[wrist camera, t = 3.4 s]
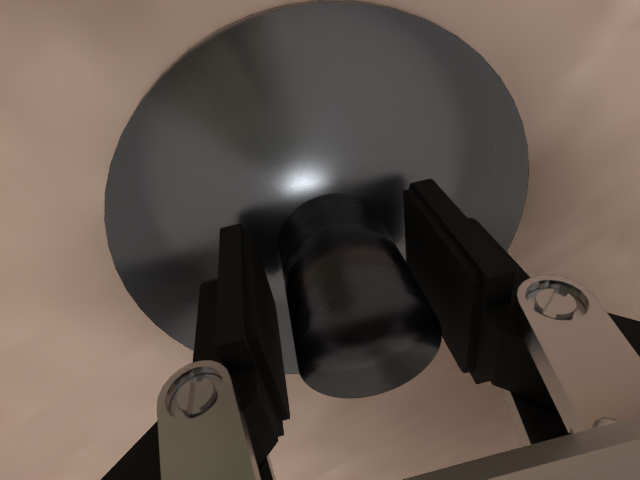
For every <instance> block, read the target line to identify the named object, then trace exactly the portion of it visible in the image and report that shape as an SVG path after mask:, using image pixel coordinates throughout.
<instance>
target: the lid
mask: <svg viewBox="0 0 640 480" xmlns="http://www.w3.org/2000/svg"><path fill="white" fill-rule="evenodd" d="M528 176H529V162H528V146H527V141H526V137H525V132H524V127H523V123H522V120H521V118H520V115H519V113H518V110H517V107H516V105H515V102H514V100H513V98H512V96H511V95H510V93H509V91H508V90H507V88H506V86H505V85H504V83H503V81H502V80H501V78H500V76H499V75H498V74H497V73H496V72H495V71H494V70H493V68H492V67H491V66H490V65H489V64H488V63H487V62H486V60H485V59H484V58H483V57H482V56H481V55H480V54H479V53H478V52H476V51H475V50H474V49H473V48H471V47H470V46H469V45H468V44H466V43H465V42H464V41H463V40H461V39H460V38H459V37H458V36H456V35H454V34H452V33H451V32H449V31H447V30H445V29H443V28H442V27H440V26H438V25H436V24H434V23H433V22H431V21H428V20H425V19H423V18H420V17H417V16H414V15H411V14H408V13H406V12H403V11H400V10H397V9H394V8H391V7H387V6H382V5H376V4H371V3H365V2H360V1H340V0H318V1H310V2H303V3H295V4H288V5H283V6H280V7H276V8H273V9H270V10H266V11H263V12H259V13H256V14H252V15H250V16H248V17H245V18H243V19H241V20H239V21H237V22H235V23H232V24H230V25H228V26H226V27H224V28H222V29H219V30H218V31H216V32H215V33H213V34H212V35H210V36H209V37H207V38H206V39H204V40H202V41H201V42H199V43H198V44H196V45H195V46H193V47H192V48H190V49H189V50H188V51H187V52H186V53H184V54H183V55H182V56H181V57H180V58H179V59H178V60H177V61H176V62H175V63H173V64H172V65H171V66H170V67H169V68H168V69H167V70H166V71H165V72H163V74H162V75H161V76H160V77H159V79H158V80H157V81H156V82H155V84H154V85H153V86H152V87H151V89H150V90H149V91H148V92H147V94H146V95H145V96H144V97H143V99H142V100H141V102H140V103H139V105H138V107H137V108H136V110H135V112H134V114H133V115H132V117H131V119H130V121H129V122H128V124H127V126H126V128H125V129H124V131H123V133H122V135H121V137H120V140H119V142H118V145H117V148H116V150H115V153H114V156H113V158H112V161H111V164H110V169H109V174H108V179H107V185H106V190H105V217H104V220H105V227H106V233H107V240H108V246H109V249H110V252H111V255H112V258H113V261H114V264H115V268H116V270H117V272H118V274H119V276H120V278H121V280H122V282H123V284H124V286H125V288H126V289H127V291H128V292H129V294H130V295H131V297H132V298H133V299H134V301H135V302H136V303H137V305H138V306H139V308H140V309H141V310H142V311H143V312H144V313H145V314H146V315H147V316H148V317H149V318H150V319H151V320H152V321H153V322H154V323H155V325H157V326H158V327H159V328H160V329H162V330H163V331H164V332H165V333H167V334H168V335H169V336H170V337H172V338H173V339H175V340H176V341H178V342H180V343H181V344H183V345H184V346H186V347H188V348H189V349H191V350H193V351H194V344H195V333H196V323H197V312H198V301H199V291H200V285H201V284H202V283H203V282H207V281H211V280H215V279H218V261H219V237H220V228H222V227H227V226H231V225H235V224H239V223H241V224H242V226H243V228H246V227H251V229H252V232H253V235H254V238H255V242H256V245H257V248H258V251H259V254H260V257H261V260H262V263H263V266H264V269H265V273H266V276H267V279H268V282H269V285H270V288H271V291H272V294H273V297H274V301H275V305H276V310H277V317H278V325H279V333H280V341H281V349H282V357H283V364H284V372H285V374H300V375H301V377H302V379H303V380H304V382H305V383H306V384H307V385H308V386H310V387H311V388H312V389H314V390H316V391H318V392H320V393H322V394H325V395H328V396H332V397H338V398H362V397H369V396H374V395H378V394H381V393H384V392H387V391H390V390H392V389H395V388H397V387H399V386H401V385H403V384H405V383H406V382H408V381H410V380H411V379H413V378H414V377H415V376H417V375H418V374H419V373H420V372H422V371H423V370H424V369H425V368H426V367H427V366H428V365H429V363H430V362H431V361H432V360H433V358H434V357H435V355H436V353H437V351H438V349H439V347H440V344H441V339H442V328H441V324H440V322H439V320H438V318H437V316H436V314H435V312H434V311H433V309H432V307H431V305H430V304H429V302H428V300H427V298H426V297H425V295H424V293H423V291H422V290H421V288H420V286H419V284H418V283H417V281H416V279H415V277H414V275H413V274H412V272H411V270H410V268H409V267H408V265H407V263H406V247H405V226H404V205H403V191H404V190H406V189H409V185H410V183H413V182H417V181H421V180H426V179H433V180H434V181H435V182H436V184H437V185H438V186H439V187H440V188H441V189H442V190H443V191H444V192H445V194H446V195H447V196H448V197H449V198H450V199H451V200H452V201H453V202H454V204H455V205H456V206H457V207H458V208H459V209H460V210H461V211H462V212H463V214H464V215H465V216H466V217H467V218H474V219H476V220H477V221H478V222H479V223H480V224H481V225H482V226H483V227H484V228H485V229H486V231H487V232H488V233H489V234H490V235H491V236H492V237H493V238H494V239H495V240H496V241H497V242H498V243H499V245H500V246H501V247H502V248H503V249H504V250H505V251H506V252H507V250H508V248H509V246H510V244H511V242H512V240H513V238H514V236H515V233H516V230H517V227H518V225H519V222H520V219H521V216H522V213H523V208H524V204H525V200H526V195H527V187H528Z"/></svg>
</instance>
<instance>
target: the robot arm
mask: <svg viewBox="0 0 640 480" xmlns="http://www.w3.org/2000/svg"><path fill="white" fill-rule="evenodd" d="M403 205H404V226H405V247H406V263H407V265H408V267H409V268H410V270H411V272H412V274H413V275H414V277H415V279H416V281H417V283H418V284H419V286H420V288H421V290H422V291H423V293H424V295H425V297H426V298H427V300H428V302H429V304H430V305H431V307H432V309H433V311H434V312H435V314H436V316H437V318H438V320H439V322H440V324H441V328H442V337H443V339H444V341H445V342H446V344H447V346H448V348H449V350H450V352H451V353H452V355H453V357H454V359H455V361H456V362H457V364H458V366H459V368H460V369H461V371H462V372H463V373H467V372H470V374H471V376H472V378H473V379H474V381H475V383H476V384H480V383H484V382H487V381H491V383H492V384H493V385H495V386H498V387H500V388H502V392H503V395H504V398H505V401H506V403H507V406H508V409H509V411H510V414H511V417H512V419H513V422H514V425H515V427H516V430H517V433H518V435H519V438H520V440H521V443H522V446H523V447H521V448H517V449H513V450H510V451H506V452H502V453H499V454H495V455H491V456H488V457H484V458H480V459H477V460H473V461H469V462H466V463H462V464H458V465H455V466H451V467H447V468H444V469H440V470H436V471H433V472H429V473H425V474H422V475H418V476H414V477H411V478H407V479H403V480H640V322H639V321H636V320H632V319H629V318H625V317H621V316H618V315H614V314H611V313H607V312H606V311H605V309H604V308H603V307H602V305H601V304H600V303H599V301H598V300H597V298H596V297H595V296H594V295H593V294H592V293H591V292H590V291H589V290H588V289H587V288H586V287H585V286H583V285H581V284H580V283H578V282H576V281H574V280H571V279H568V278H566V277H560V276H555V275H540V276H535V277H531V278H530V277H529V276H528V275H527V274H526V273H525V272H524V270H523V269H522V268H521V267H520V266H519V265H518V264H517V263H516V262H515V261H514V260H513V259H512V257H511V256H510V255H509V254H508V253H507V252H506V251H505V250H504V249H503V248H502V247H501V246H500V245H499V243H498V242H497V241H496V240H495V239H494V238H493V237H492V236H491V235H490V234H489V233H488V232H487V231H486V229H485V228H484V227H483V226H482V225H481V224H480V223H479V222H478V221H477V220H476V219H474V218H467V217H466V216H465V215H464V214H463V212H462V211H461V210H460V209H459V208H458V207H457V206H456V205H455V204H454V202H453V201H452V200H451V199H450V198H449V197H448V196H447V195H446V194H445V192H444V191H443V190H442V189H441V188H440V187H439V186H438V185H437V184H436V182H435V181H434V180H433V179H426V180H421V181H417V182H413V183H410V185H409V189H406V190H404V191H403ZM287 419H290V411H289V403H288V396H287V388H286V380H285V372H284V364H283V357H282V349H281V341H280V333H279V325H278V317H277V310H276V305H275V301H274V297H273V294H272V291H271V288H270V285H269V282H268V279H267V276H266V273H265V269H264V266H263V263H262V260H261V257H260V254H259V251H258V248H257V245H256V242H255V238H254V235H253V232H252V229H251V227H246V228H243V226H242V224H241V223H239V224H235V225H231V226H227V227H222V228H220V237H219V261H218V279H215V280H211V281H207V282H203V283H202V284H201V285H200V291H199V301H198V312H197V323H196V333H195V344H194V354H193V363H191V364H188V365H186V366H185V367H183V368H181V369H179V370H178V371H177V372H176V373H174V374H173V375H172V376H171V377H170V378H169V379H168V380H167V382H166V383H165V384H164V386H163V387H162V389H161V391H160V394H159V396H158V401H157V420H158V421H157V422H156V423H155V424H154V425H153V426H152V427H151V428H150V429H149V430H148V431H147V432H146V433H145V434H144V435H143V436H142V437H141V439H140V440H139V441H138V442H137V443H136V444H135V445H134V446H133V447H132V448H131V449H130V450H129V451H128V452H127V453H126V454H125V455H124V456H123V457H122V458H121V459H120V460H119V461H118V462H117V463H116V464H115V465H114V467H113V468H112V469H111V470H110V471H109V472H108V473H107V474H106V475H105V476H104V477H103V478H102V479H101V480H276V478H275V475H274V471H273V468H272V464H271V461H270V458H269V455H268V454H269V453H270V452H271V450H272V449H273V447H274V446H275V445H276V443H277V442H278V437H279V436H282V435H284V430H283V420H287Z"/></svg>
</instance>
